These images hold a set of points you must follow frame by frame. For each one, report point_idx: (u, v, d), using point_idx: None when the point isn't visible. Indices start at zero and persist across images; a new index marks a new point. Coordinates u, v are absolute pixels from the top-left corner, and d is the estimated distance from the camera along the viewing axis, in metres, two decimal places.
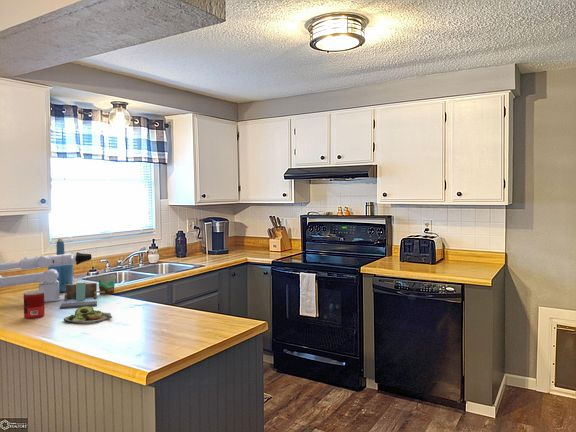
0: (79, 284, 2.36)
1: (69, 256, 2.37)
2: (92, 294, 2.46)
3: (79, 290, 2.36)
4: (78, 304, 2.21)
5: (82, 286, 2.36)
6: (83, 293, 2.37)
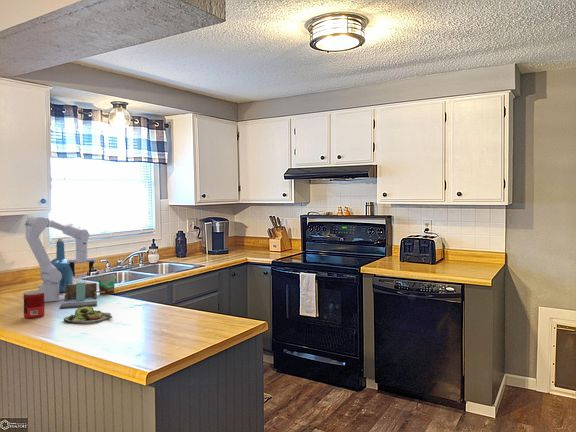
0: (79, 284, 2.36)
1: None
2: (92, 294, 2.46)
3: (79, 290, 2.36)
4: (78, 304, 2.21)
5: (82, 286, 2.36)
6: (83, 293, 2.37)
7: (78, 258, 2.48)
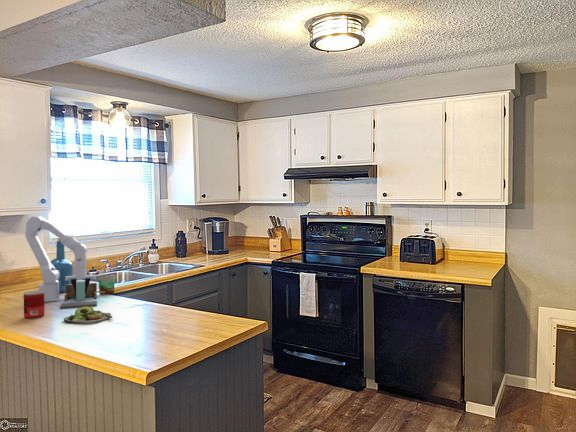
0: (79, 284, 2.36)
1: None
2: (92, 294, 2.46)
3: (79, 290, 2.36)
4: (78, 304, 2.21)
5: (82, 286, 2.36)
6: (83, 293, 2.37)
7: (77, 275, 2.37)
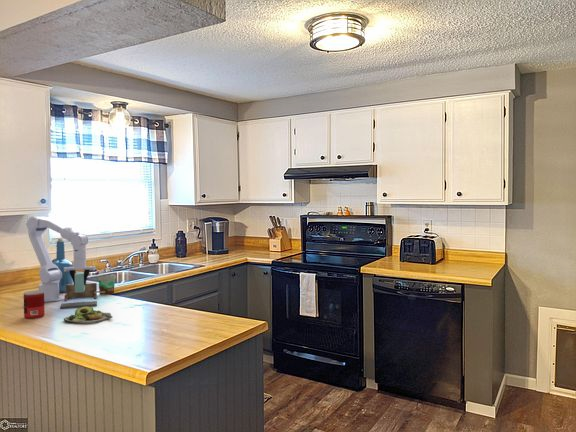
0: (78, 275, 2.29)
1: None
2: (92, 294, 2.46)
3: (78, 282, 2.29)
4: (78, 304, 2.21)
5: (81, 277, 2.30)
6: (82, 285, 2.30)
7: (76, 266, 2.30)
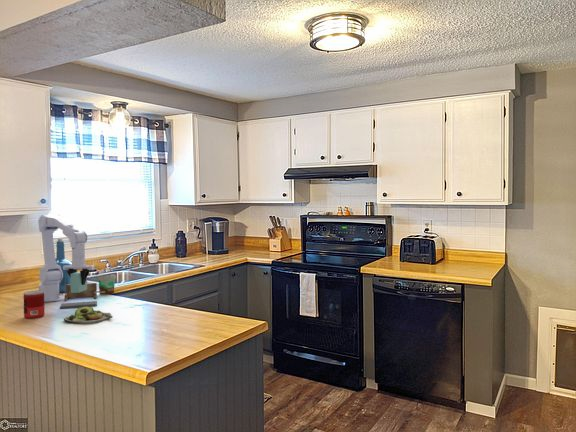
0: (73, 275, 2.19)
1: (84, 263, 2.24)
2: (92, 294, 2.46)
3: (74, 281, 2.19)
4: (78, 304, 2.21)
5: (76, 277, 2.19)
6: (77, 285, 2.19)
7: (73, 264, 2.20)
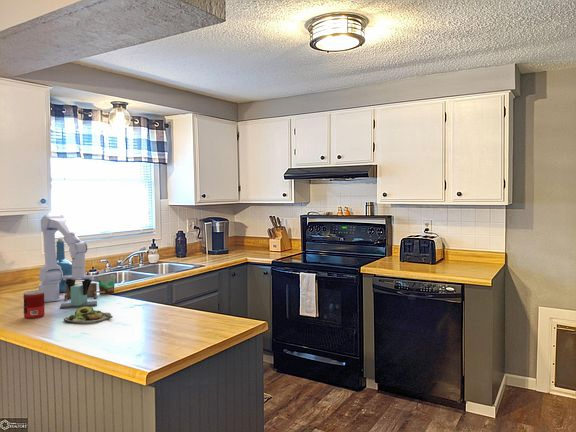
0: (73, 288, 2.19)
1: (84, 273, 2.24)
2: (92, 294, 2.46)
3: (74, 294, 2.19)
4: None
5: (76, 290, 2.19)
6: (77, 298, 2.19)
7: (73, 275, 2.20)
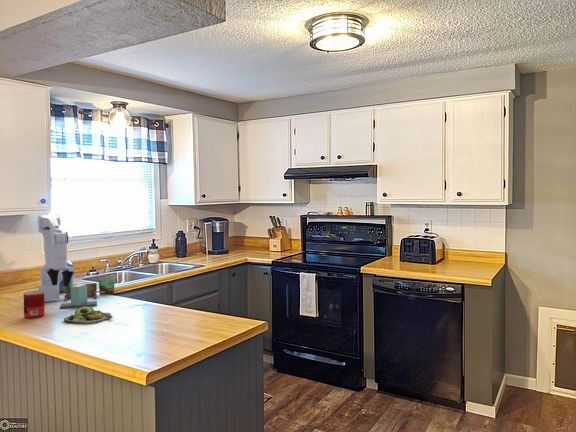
0: (73, 288, 2.19)
1: (66, 264, 2.21)
2: (92, 294, 2.46)
3: (74, 294, 2.19)
4: None
5: (76, 290, 2.19)
6: (77, 298, 2.19)
7: (53, 265, 2.18)
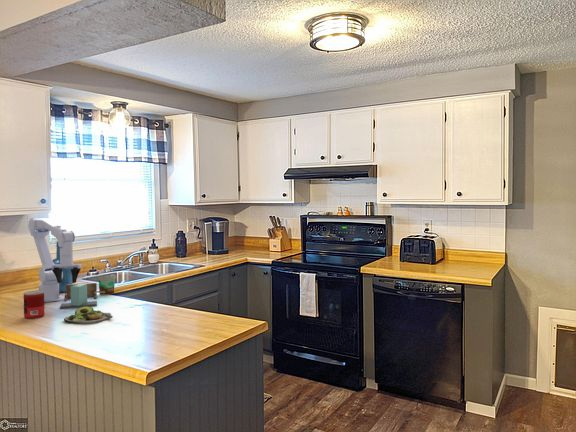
0: (73, 288, 2.19)
1: (72, 261, 2.29)
2: (92, 294, 2.46)
3: (74, 294, 2.19)
4: None
5: (76, 290, 2.19)
6: (77, 298, 2.19)
7: (60, 263, 2.25)
